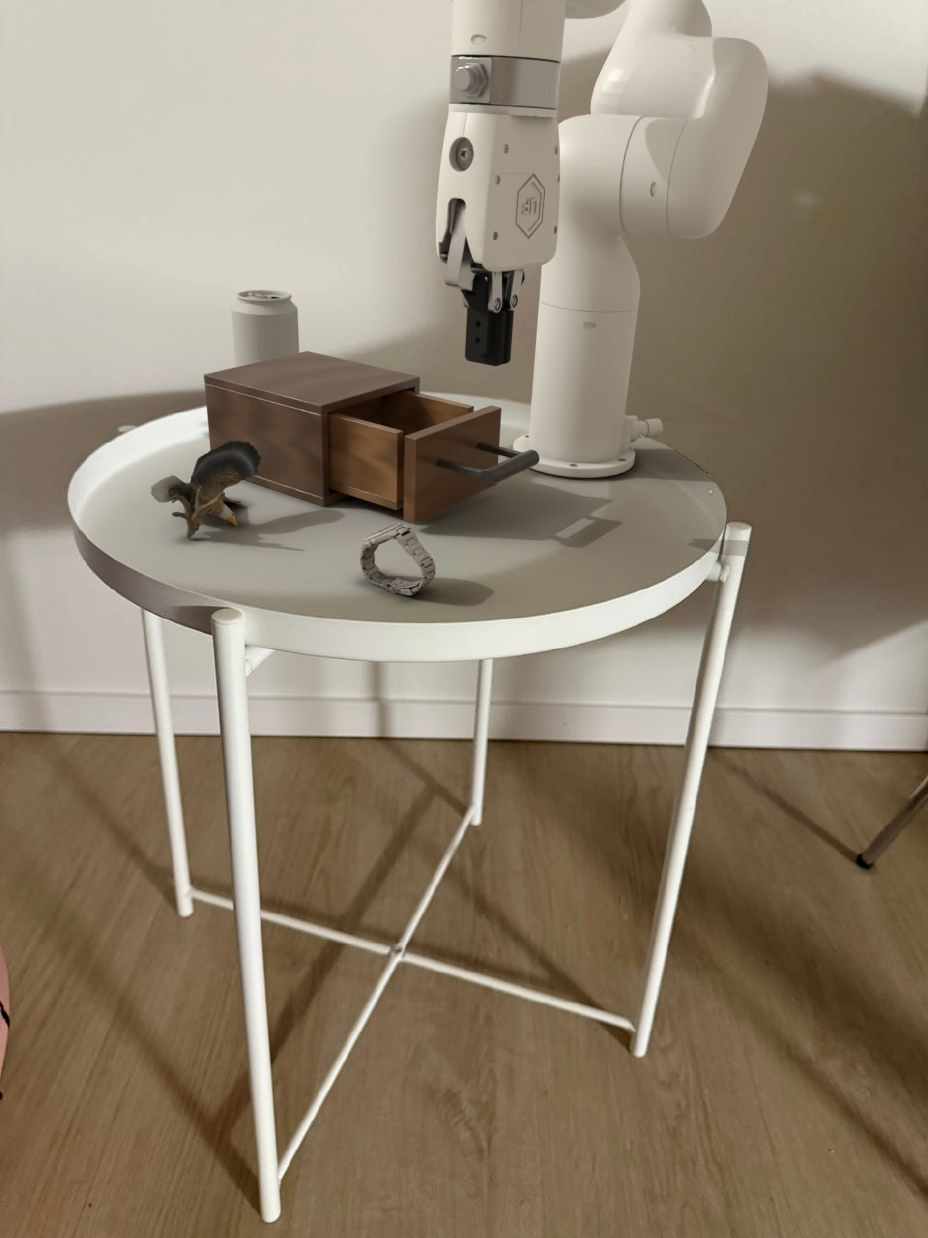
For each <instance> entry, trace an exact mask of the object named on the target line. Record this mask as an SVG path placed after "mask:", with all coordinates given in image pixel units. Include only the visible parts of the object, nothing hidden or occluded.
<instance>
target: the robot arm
mask: <svg viewBox="0 0 928 1238" xmlns="http://www.w3.org/2000/svg"><path fill="white" fill-rule="evenodd" d="M451 2H452V19H451V43H450V45H451V46H450V63H449V65H450V67H449V89H448V90H449V92H448V115H447V119H446V125H445V129H444V137H443V144H442V149H441V157H440V165H439V175H438V185H437V195H436V213H435V214H436V215H435V247H436V249H435V250H436V254H437V257H438V259H439V260H440V261H441V263H443V264H444V265H446V267H445V272H444V279H443V280H444V284H445V285H446V286H448V287H452V288H455V289H459V290H460V292H461V293H462V304H463V307H464V308H466V324H465V325H466V326H465V344H464V345H465V346H464V358H465V359H466V361H468V362H471V363H477V364H482V365H486V366H490V367H498V366H501V365H507V364H509V363H510V362H511V358H512V343H513V331H514V330H513V329H514V316H515V310H516V309H517V307H518V306H519V301H520V296H521V295H520V294H521V290H522V289H521V288H522V286H523V284H524V282H525V281H527V280H528V279H530V278H532V277H533V276H534V275H535V274H536V273H537V267H539V266H541V270H540V271H541V272H540V286H539V299H538V312H537V313H538V314H537V325H536V337H535V349H534V365H533V375H532V376H533V377H532V391H531V401H530V415H529V429H528V433H526V434H523V435H521V436H519V437H518V438H516V439H515V440H514V441H513V445H512V450H515V451H519V452H523V453H524V452H526V451H528V450H535V451H536V452H537V453H538V454H539V462H538V464H537V465H535V466H533V467H530V468H529V469H531V470H533V471H536V472H540V473H544V474H547V475H553V476H558V477H566V478H578V479H579V478H580V479H591V478H593V479H594V478H606V477H611V476H617V475H619V474H622V473H625V472H627V471H629V470H630V469H631V468H632V467H634V464H635V461H636V460H635V459H636V452H635V450H634V448H633V447H632V446H631V443H635V442H636V441H637V440H638V439H641V438H642V437H641V436H640V435H642V436H644V437H647V438H646V439H649V438H650V439H651V438H659V437H660V436H662V434H663V431H664V426H663V425H664V424H663V421H662V420H661V419H660V418H658V417H657V418H649V419H648V418H647V419H642V420H639V418H638V416H637V415H627V414H626V409H627V402H628V401H627V400H628V393H629V384H630V377H631V369H632V362H633V361H632V360H633V355H634V354H633V352H634V346H635V345H634V344H635V338H636V337H635V336H636V329H637V321H638V313H639V306H640V299H641V281H640V280H641V279H640V274H639V271H638V268H637V265H636V263H635V261H634V259H633V257H632V255H631V252H630V251H629V249H628V247H627V245H626V243H625V242H624V240H623V238H622V235H625V236H626V235H628V236H629V235H630V236H631V235H635V236H645V237H657V238H667V239H680V240H696V239H703V238H705V237H708V236H709V235H711V234H712V233H714V232H715V231H716V230H717V229H718V228H719V227H720V226H721V223H722V222H723V221H724V218H725V217H726V215H727V212H729V211H728V210H729V208H730V207H731V204H732V202H733V199H734V196H735V194H736V191H737V188H738V186H739V184H740V181H741V178H742V176H743V173H744V170H745V169H746V165H747V163H748V160H749V158H750V155H751V152H752V150H753V148H754V145H755V143H756V140H757V137H758V134H759V132H760V129H761V126H762V122H763V118H764V116H765V115H764V114H765V112H766V111H765V110H766V105H767V99H768V91H769V73H768V72H769V71H768V65H767V61H766V57H765V56H764V54H763V52H762V50H761V49H760V48H759V47H758V46H757V44H755V43H753V42H751V41H749V40H746V39H743V38H738V37H726V36H713V25H712V19H711V17H710V14H709V11H708V9H707V7H706V5H705V4H704V2H703V0H451ZM624 3H625V7H626V9H625V10H626V18H625V21H624V23H623V25H622V27H621V29H620V32H619V34H618V35H617V38H616V40H615V42H614V44H613V46H612V48H611V50H610V52H609V54H608V56H607V58H606V60H605V62H604V63H603V65H602V68H601V70H600V73H599V75H598V77H597V79H596V81H595V84H594V87H593V91H592V94H591V99H590V113H589V114H588V113H587V114H581V115H575V116H571V117H569V118H567V119H564V120H562V121H561V122H560V123H559V122H558V106H559V95H560V94H559V93H560V81H561V80H560V79H561V71H562V70H561V69H562V64H561V63H562V58H563V57H562V56H563V47H564V46H563V45H564V32H565V21H566V19H569V20H570V19H571V20H572V19H573V20H584V19H585V20H586V19H596V18H601V17H604V16H607V15H609V14H611V13H612V12H614V11H616V10H618V9H619V8H620V7H621V6H622V5H623V4H624ZM642 439H643V438H642Z"/></svg>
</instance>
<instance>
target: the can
mask: <svg viewBox="0 0 928 1238" xmlns="http://www.w3.org/2000/svg"><path fill="white" fill-rule="evenodd" d="M292 296H293V295H292V294H291V293H289V292H286V291H284V290H283V291H281V290H273V289H251V290H250V289H249V290H244V291H239V292H237V293H236V295H235V297H236V298H237V300H236V301H235V302H234V304H233V305H232V306H231V310H230V311H231V321H232V322H231V324H232V325H231V326H232V339H233V351H234V368H235V367H239V366H244V365H248V364H252V363H257V362H261V361H266V360H270V359H274V358H279V357H283V356H287V355H292V354H296V353H300V339H299V337H300V335H299V309H298V307H297V305H296V304H295V303H294V302H293V301H292V300H291V299H292V298H293V297H292Z"/></svg>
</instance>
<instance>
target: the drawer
mask: <svg viewBox="0 0 928 1238" xmlns="http://www.w3.org/2000/svg"><path fill="white" fill-rule="evenodd" d="M502 410H503V408H502V407H501V406H500V407H499V406H496V405H491V404H490V405H488V406H485V407H482V408H480V409H477V410H475V406H474V405H471V404H467V403H462V402H459V401H455V400H450V399H446V398H442V397H437V396H434V395H430V394H426V393H421V392H420V393H417V392H413V391H409V390H401V391H398V392H395V393H392V394H388V395H385V396H382V397H378V398H375V399H372V400H368V401H365V402H362V403H358V404H355V405H352V406H349V407H345V408H342V409H339V410H335V411H332V412H329V413H327V422H328V462H329V489H332V490H335V491H338V492H342V493H345V494H348V495H351V496H350V497H354V498H358V499H360V500H364V501H367V502H370V503H373V504H375V505H379V506H383V507H385V508H389V509H392V510H395V511H398V510H400V509H403V521H406V522H409V523H411V524H416V523H419V522H421V521H423V520H425V519H427V518H429V517H431V516H433V515H436V514H438V513H440V512H442V511H444V510H446V509H448V508H451V507H453V506H455V505H457V504H459V503H461V502H463V501H466V500H468V499H470V498H472V497H474V496H476V495H478V494H480V493H482V492H484V491H486V490H489V489H491V488H493V487H495V486H497V485H498V484H499V483H500V482H503V481H505V480H507V479H509V478H511V477H513V476H515V475H517V474H520V473H522V472H524V471H526V470H529V469H531V468H530V467H533V466H535V465H537V464H538V462H539V454H538V453H537V452H536V451H535V450H528V451H526V452H524V453H523V452H519V451H515V450H513V449H512V448H507V447H504V446H500V441H501V439H500V438H501V425H502V424H501V422H502ZM500 456H501V457H505V458H507V459H506V460H504V461H503V460H502V461H501V462H499V457H500Z"/></svg>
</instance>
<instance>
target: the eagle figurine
mask: <svg viewBox="0 0 928 1238" xmlns="http://www.w3.org/2000/svg"><path fill="white" fill-rule="evenodd" d="M260 460H261V456H260V455H258V450H257V449H255V448H254V446H253V445H250V443H249V442H244V441H239V440H238V441H235V440H234V441H229V442H225V443H224V444H222V445H221V446H218V447H217V448H215V449H213V450H210V449H209V451H208V452H206V453H204V454H202V455H200V456H199V457H198V458H197V459H196V461H195V465H194V468H193V471H192V474H191V476H190V481H189V482H185V481H183V480H181V479H180V478H179V477H177V475H171V474H170V475H168V476H166V477H163V478H161V479H159V480H158V481H156V482H154V483H153V484H152V485H151V486H150V494H151V496H152V497H153V498H154V500H155V501H156V502H158V503H161V504H162V503H163V504H164V503H169V502H171V504H174V503H176V502H177V501H179V502H180V503H181V504H182V506H183V509H184V512H180V511H173V512H172V513H171V516H172V517H173V518H174V517H175V518H181V519H184V520H186V527H187V529H186V538H187V540H190V539H191V538H192V537H193V536H194V535H195V533H196V532H197V531H198V530H200V527H201V526H202V521H203V518H204V516H205V514H206V513H207V514H210V515H213V516H218V517H220V518H222V519H223V520H226V521H228V522H230V523H231V524H233V525H234V526H235V527H236V526H237V525H238V523H237V520H236V518H235V517H236V515H235V513H234V511H232V509H230V507H229V506H227V505H226V503H233V504H234V503H235V504H242V501H239V500H234V499H231V498H228V497H227V496H226V492H225V489H227V488H230V487H234V486H235V485H238V484H239V483H240V482H242V481H246V480H245V479H248V478H250V477H252V476H254V475H255V474H256V473H257V472H258V469H257V468H258V467H259V466H260Z"/></svg>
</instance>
